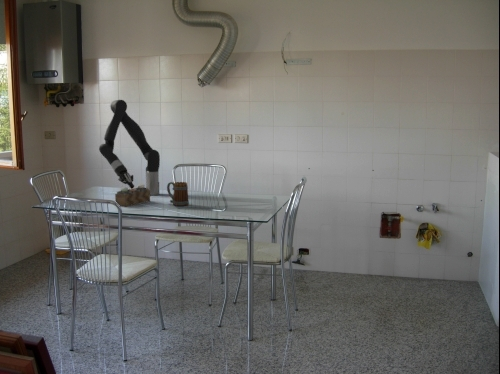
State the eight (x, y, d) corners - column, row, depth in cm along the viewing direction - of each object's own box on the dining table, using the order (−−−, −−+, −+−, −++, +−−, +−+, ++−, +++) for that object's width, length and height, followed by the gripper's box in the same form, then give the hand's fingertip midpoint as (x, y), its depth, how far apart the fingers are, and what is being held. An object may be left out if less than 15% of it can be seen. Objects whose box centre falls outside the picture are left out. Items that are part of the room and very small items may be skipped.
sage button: (124, 190, 328) (124, 187, 328) (129, 191, 326) (129, 188, 326) (119, 191, 325) (119, 188, 324) (124, 192, 322) (124, 189, 322)
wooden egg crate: (140, 199, 346) (140, 186, 345) (150, 201, 342) (149, 188, 340) (115, 205, 325) (115, 191, 324) (125, 206, 321) (124, 193, 320)
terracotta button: (132, 191, 336) (132, 188, 335) (138, 191, 333) (137, 189, 333) (128, 192, 332) (127, 189, 331) (133, 192, 329) (133, 189, 329)
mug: (191, 204, 333) (191, 182, 330) (183, 207, 323) (183, 184, 321) (172, 202, 339) (172, 180, 337) (163, 204, 330) (163, 182, 327)
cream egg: (140, 187, 342) (140, 184, 342) (146, 187, 340) (146, 185, 340) (136, 188, 338) (136, 185, 338) (141, 188, 336) (141, 185, 336)
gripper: (114, 165, 329) (128, 185, 325) (128, 163, 340) (142, 182, 336) (108, 172, 332) (123, 192, 328) (123, 170, 343) (136, 189, 339)
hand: (132, 187), depth 332 cm, fingers closed
